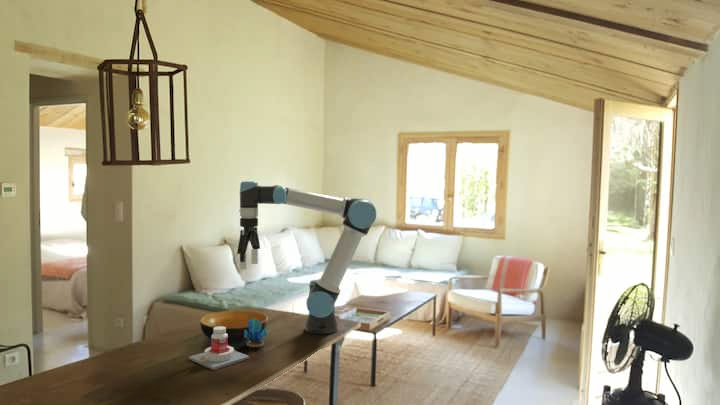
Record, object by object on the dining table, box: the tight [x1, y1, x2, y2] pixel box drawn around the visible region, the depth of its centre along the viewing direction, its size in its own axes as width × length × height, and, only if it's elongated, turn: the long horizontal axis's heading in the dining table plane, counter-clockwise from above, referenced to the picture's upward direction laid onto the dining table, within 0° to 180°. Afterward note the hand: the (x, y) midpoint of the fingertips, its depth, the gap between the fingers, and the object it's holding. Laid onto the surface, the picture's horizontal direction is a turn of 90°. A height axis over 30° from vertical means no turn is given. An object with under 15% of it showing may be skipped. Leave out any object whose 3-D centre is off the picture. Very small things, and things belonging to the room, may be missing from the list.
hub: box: [188, 345, 250, 371], centre depth 198 cm, size 16×16×4 cm
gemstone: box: [243, 317, 268, 348], centre depth 215 cm, size 7×9×12 cm
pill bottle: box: [210, 325, 229, 354], centre depth 197 cm, size 6×6×11 cm
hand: (249, 266), depth 222 cm, fingers open, 13 cm apart
